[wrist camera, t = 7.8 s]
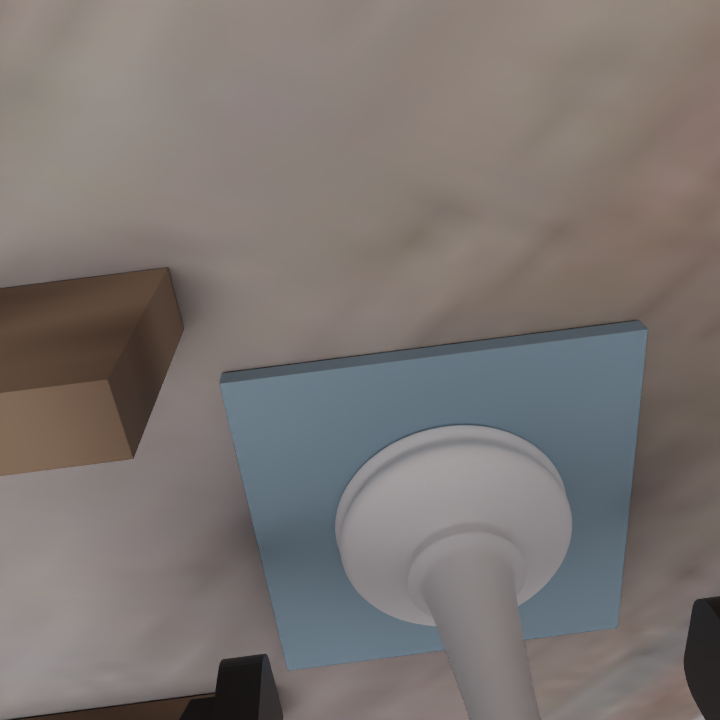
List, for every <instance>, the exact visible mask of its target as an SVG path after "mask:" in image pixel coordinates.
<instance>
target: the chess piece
mask: <svg viewBox="0 0 720 720" xmlns="http://www.w3.org/2000/svg"><path fill="white" fill-rule="evenodd" d="M335 534H336V541H337V545H338V548H339V551H340V555H341V560H342V564H343V567H344V570H345V573H346V575H347V577H348V579H349V580H350V582H351V584H352V585H353V587H354V588H355V589H356V591H357V592H358V593H359V594H360V595H361V596H362V597H363V598H364V599H365V600H366V601H367V602H369V603H370V604H371V605H373V606H374V607H375V608H377V609H379V610H380V611H382V612H384V613H386V614H388V615H390V616H392V617H395V618H397V619H400V620H403V621H407V622H411V623H415V624H420V625H428V626H437V629H438V632H439V634H440V637H441V640H442V642H443V645H444V648H445V651H446V653H447V656H448V659H449V661H450V664H451V667H452V670H453V672H454V675H455V678H456V681H457V684H458V687H459V689H460V692H461V695H462V698H463V700H464V703H465V706H466V709H467V712H468V716H469V719H470V720H541V718H540V714H539V709H538V705H537V701H536V697H535V693H534V688H533V684H532V678H531V673H530V668H529V663H528V658H527V653H526V647H525V642H524V637H523V631H522V626H521V620H520V615H519V609H518V606H519V605H521V604H522V603H524V602H525V601H527V600H528V599H530V598H531V597H532V596H534V595H535V594H536V593H537V592H538V591H539V590H541V589H542V588H543V587H544V586H545V585H546V584H547V583H548V581H549V580H550V579H551V578H552V577H553V575H554V574H555V573H556V571H557V570H558V568H559V567H560V565H561V563H562V562H563V560H564V558H565V555H566V553H567V550H568V547H569V544H570V540H571V534H572V514H571V509H570V505H569V502H568V499H567V496H566V492H565V487H564V484H563V481H562V479H561V477H560V474H559V473H558V471H557V469H556V468H555V466H554V465H553V463H552V462H551V461H550V459H549V458H548V457H547V456H546V455H545V454H544V453H543V452H542V451H541V450H539V449H538V448H537V447H536V446H534V445H533V444H531V443H530V442H528V441H526V440H525V439H523V438H521V437H519V436H517V435H514V434H512V433H509V432H506V431H503V430H499V429H496V428H491V427H485V426H476V425H453V426H444V427H437V428H433V429H428V430H425V431H421V432H418V433H415V434H412V435H410V436H407V437H405V438H402V439H400V440H398V441H396V442H394V443H392V444H391V445H389V446H387V447H386V448H384V449H383V450H381V451H380V452H378V453H377V454H376V455H374V456H373V457H372V458H371V459H369V460H368V461H367V462H366V463H365V464H364V465H363V466H362V467H361V468H360V469H359V470H358V471H357V472H356V474H355V475H354V476H353V478H352V479H351V480H350V482H349V483H348V485H347V487H346V488H345V490H344V492H343V494H342V497H341V499H340V502H339V505H338V508H337V513H336V519H335Z"/></svg>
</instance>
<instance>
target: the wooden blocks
mask: <svg viewBox="0 0 720 720" xmlns="http://www.w3.org/2000/svg"><path fill="white" fill-rule="evenodd" d="M183 330H184V329H183V325H182V321H181V317H180V313H179V309H178V305H177V301H176V297H175V293H174V290H173V286H172V282H171V278H170V274H169V270H168V268H161V269H153V270H145V271H137V272H129V273H121V274H113V275H105V276H97V277H89V278H81V279H73V280H65V281H58V282H50V283H42V284H34V285H26V286H18V287H10V288H2V289H0V476H3V475H11V474H19V473H27V472H34V471H42V470H50V469H58V468H66V467H74V466H81V465H89V464H97V463H105V462H113V461H121V460H128V459H133V458H134V456H135V453H136V450H137V448H138V445H139V443H140V440H141V438H142V435H143V433H144V430H145V427H146V425H147V422H148V420H149V417H150V415H151V412H152V409H153V407H154V404H155V402H156V399H157V397H158V394H159V391H160V389H161V386H162V384H163V381H164V379H165V376H166V373H167V371H168V368H169V366H170V363H171V361H172V358H173V356H174V353H175V350H176V348H177V345H178V343H179V340H180V338H181V335H182V332H183ZM214 696H215V694H209V695H201V696H194V697H186V698H178V699H171V700H163V701H155V702H148V703H140V704H132V705H125V706H117V707H110V708H102V709H94V710H87V711H79V712H71V713H64V714H56V715H48V716H41V717H33V718H25V719H18V720H179V719H180V717H181V715H182V714H183V712H184V710H185V708H186V707H187V705H188V703H189V702H190V700H191V699H199V698H207V697H214Z"/></svg>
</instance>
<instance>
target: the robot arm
mask: <svg viewBox="0 0 720 720" xmlns="http://www.w3.org/2000/svg"><path fill="white" fill-rule="evenodd" d="M684 670H685V675H686V680H687V683H688V686H689V689H690V692H691V694H692V696H693V698H694V700H695V702H696V704H697V706H698V707H699V709H700V711H701V713H702V715H703V716H704V718H705V720H720V596H718V597H710V598H702V599H697V600H696V601H695V602H694V604H693V609H692V614H691V620H690V626H689V632H688V637H687V643H686V649H685V655H684ZM179 720H283V714H282V709H281V705H280V701H279V697H278V693H277V689H276V685H275V681H274V678H273V674H272V670H271V666H270V662H269V658H268V656H267V654H260V655H252V656H244V657H237V658H229V659H223V660H222V661H221V663H220V666H219V670H218V677H217V684H216V692H215V696H214V697H207V698H199V699H191V700H190V702H189V703H188V705H187V707H186V708H185V710H184V712H183V714H182V715H181V717H180V719H179Z"/></svg>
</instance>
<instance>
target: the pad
mask: <svg viewBox="0 0 720 720" xmlns="http://www.w3.org/2000/svg"><path fill="white" fill-rule="evenodd" d="M647 332H648V329H647V328H646V327H645V326H644V325H643V324H642V323H640V322H639V321H631V322H623V323H615V324H607V325H600V326H592V327H584V328H576V329H568V330H560V331H552V332H544V333H537V334H529V335H521V336H513V337H505V338H497V339H489V340H481V341H473V342H466V343H458V344H450V345H442V346H434V347H426V348H418V349H410V350H403V351H395V352H387V353H379V354H371V355H363V356H355V357H347V358H340V359H332V360H324V361H316V362H308V363H300V364H292V365H284V366H276V367H269V368H261V369H253V370H245V371H237V372H229V373H222V375H221V379H220V388H221V392H222V397H223V401H224V405H225V409H226V413H227V418H228V422H229V426H230V430H231V434H232V439H233V443H234V447H235V451H236V455H237V460H238V464H239V468H240V472H241V477H242V481H243V485H244V489H245V493H246V498H247V502H248V506H249V510H250V514H251V519H252V523H253V527H254V531H255V535H256V540H257V544H258V548H259V552H260V556H261V561H262V565H263V569H264V573H265V577H266V582H267V586H268V590H269V594H270V598H271V603H272V607H273V611H274V615H275V619H276V624H277V628H278V632H279V636H280V641H281V645H282V649H283V653H284V657H285V662H286V666H287V670H288V671H290V670H298V669H306V668H313V667H321V666H329V665H336V664H344V663H352V662H359V661H367V660H375V659H382V658H390V657H398V656H405V655H413V654H421V653H428V652H436V651H444V650H445V648H444V645H443V642H442V640H441V637H440V634H439V632H438V629H437V626H428V625H420V624H415V623H411V622H407V621H403V620H400V619H397V618H395V617H392V616H390V615H388V614H386V613H384V612H382V611H380V610H379V609H377V608H375V607H374V606H373V605H371V604H370V603H369V602H367V601H366V600H365V599H364V598H363V597H362V596H361V595H360V594H359V593H358V592H357V591H356V589H355V588H354V587H353V585H352V584H351V582H350V580H349V579H348V577H347V575H346V573H345V570H344V567H343V564H342V560H341V555H340V551H339V548H338V545H337V541H336V534H335V519H336V513H337V508H338V505H339V502H340V499H341V497H342V494H343V492H344V490H345V488H346V487H347V485H348V483H349V482H350V480H351V479H352V478H353V476H354V475H355V474H356V472H357V471H358V470H359V469H360V468H361V467H362V466H363V465H364V464H365V463H366V462H367V461H368V460H369V459H371V458H372V457H373V456H374V455H376V454H377V453H378V452H380V451H381V450H383V449H384V448H386V447H387V446H389V445H391V444H392V443H394V442H396V441H398V440H400V439H402V438H405V437H407V436H410V435H412V434H415V433H418V432H421V431H425V430H428V429H433V428H437V427H444V426H453V425H476V426H485V427H491V428H496V429H499V430H503V431H506V432H509V433H512V434H514V435H517V436H519V437H521V438H523V439H525V440H526V441H528V442H530V443H531V444H533V445H534V446H536V447H537V448H538V449H539V450H541V451H542V452H543V453H544V454H545V455H546V456H547V457H548V458H549V459H550V461H551V462H552V463H553V465H554V466H555V468H556V469H557V471H558V473H559V474H560V477H561V479H562V481H563V484H564V487H565V492H566V496H567V499H568V502H569V505H570V509H571V514H572V534H571V540H570V544H569V547H568V550H567V553H566V555H565V558H564V560H563V562H562V563H561V565H560V567H559V568H558V570H557V571H556V573H555V574H554V575H553V577H552V578H551V579H550V580H549V581H548V583H547V584H546V585H545V586H544V587H543V588H542V589H541V590H539V591H538V592H537V593H536V594H535V595H534V596H532V597H531V598H530V599H528V600H527V601H525V602H524V603H522V604H521V605H519V606H518V609H519V615H520V620H521V626H522V631H523V637H524V640H528V639H536V638H543V637H551V636H559V635H566V634H574V633H581V632H589V631H597V630H604V629H612V628H617V627H618V617H619V607H620V597H621V587H622V578H623V568H624V558H625V548H626V538H627V528H628V519H629V509H630V499H631V489H632V479H633V469H634V460H635V450H636V440H637V430H638V420H639V410H640V401H641V391H642V381H643V371H644V361H645V351H646V342H647Z"/></svg>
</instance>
